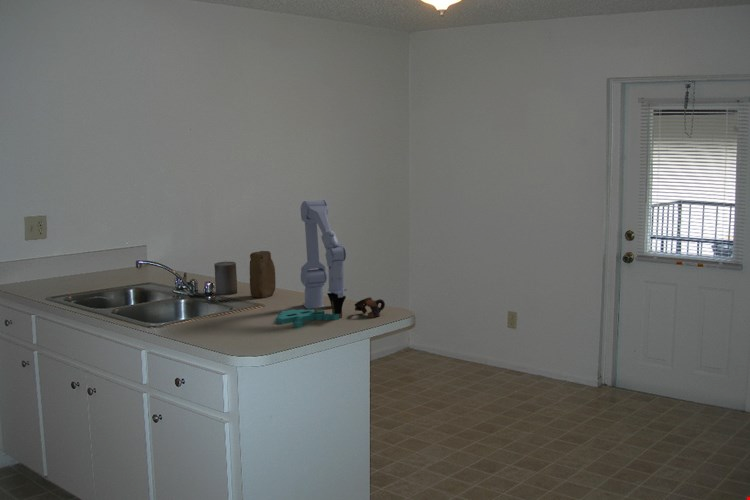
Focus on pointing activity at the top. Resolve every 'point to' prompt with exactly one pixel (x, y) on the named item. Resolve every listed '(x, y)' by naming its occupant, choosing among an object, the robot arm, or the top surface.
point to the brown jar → (262, 274)
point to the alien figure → (303, 316)
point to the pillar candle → (225, 278)
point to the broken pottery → (372, 304)
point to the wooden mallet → (327, 309)
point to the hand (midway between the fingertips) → (336, 312)
